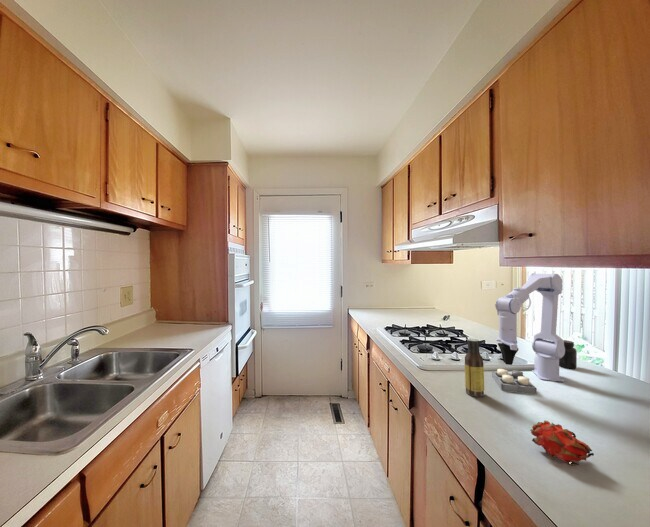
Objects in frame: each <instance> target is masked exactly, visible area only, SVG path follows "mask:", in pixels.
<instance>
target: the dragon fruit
mask: <svg viewBox="0 0 650 527" xmlns="http://www.w3.org/2000/svg"><path fill="white" fill-rule="evenodd" d="M529 431H530V434H531V435H532V436H534V437H533V438H532V440H531V441H532V442H533V443H534V444H535V445H536V446H538V447H539V446H541V447H542V448H543V449H544V451H545V453H546V454H548V455H549V457H550V459H552V460H554V459H555V458H558V459H559V460H561V461H563V462H564V463H567V465H570V464H569V462H570V461H571V462H572V463H571V465H570V466H580V463H578V462H580V461H587V459H588V458H590V457H592V456H593V457H594V455H595V454H594V452H593V449H591V447H590V446H589V445H588V444H587V443H586V442H584V441H582V440H580V439H578V438H577V435H576V434H575V433H574V431H570V430H569V429H568V428H564V429H563V426H562V425H561V424H559V423H557V424H554V422H549V421H548V420H543V421H538V422H537V423H535V424H533V425H532V428H531V429H530V430H529Z"/></svg>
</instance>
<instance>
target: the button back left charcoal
mask: <svg viewBox="0 0 650 527" xmlns="http://www.w3.org/2000/svg"><path fill="white" fill-rule="evenodd" d="M511 374H512V376H513V377H514V378H518V376H523V375H524V372H523V371H520V370H516V369H513V370H511Z"/></svg>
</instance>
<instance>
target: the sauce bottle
mask: <svg viewBox="0 0 650 527" xmlns="http://www.w3.org/2000/svg"><path fill="white" fill-rule="evenodd" d="M466 342H467V352H466V354H465V356H464V382H465V384H464V386H465V393H466V394H467V395H469V396H471V397H476V398H479V397H484V395H485V368H484V366H485V364H484V358H483V357H482V355H481V354H480V343H481V342H480V340H479V339H477V338H467V339H466Z"/></svg>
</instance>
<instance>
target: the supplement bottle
mask: <svg viewBox="0 0 650 527" xmlns="http://www.w3.org/2000/svg"><path fill="white" fill-rule="evenodd" d="M563 340H564V339H563ZM564 347H565V354H564V356H563V357H562V358H560V359H559V368H563V369H564V370H565V369H567V370H576V369H577V363H578V362H577V360H578V357H577V355H578V351H577V349H576V348H575V343H574V342H573V341H571V340H564Z"/></svg>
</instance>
